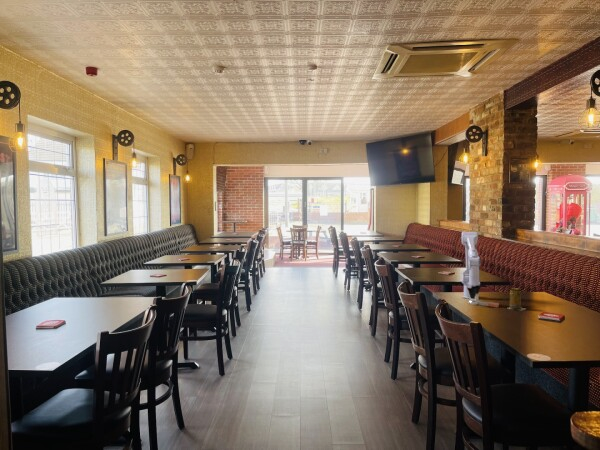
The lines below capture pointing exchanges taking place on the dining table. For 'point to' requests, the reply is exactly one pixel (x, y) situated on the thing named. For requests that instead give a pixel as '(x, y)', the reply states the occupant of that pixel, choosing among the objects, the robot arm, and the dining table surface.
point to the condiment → (515, 299)
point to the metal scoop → (483, 303)
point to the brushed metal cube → (475, 297)
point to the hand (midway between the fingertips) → (473, 297)
